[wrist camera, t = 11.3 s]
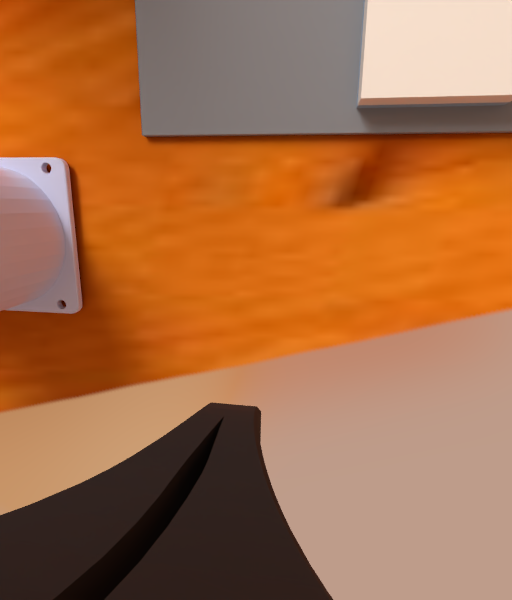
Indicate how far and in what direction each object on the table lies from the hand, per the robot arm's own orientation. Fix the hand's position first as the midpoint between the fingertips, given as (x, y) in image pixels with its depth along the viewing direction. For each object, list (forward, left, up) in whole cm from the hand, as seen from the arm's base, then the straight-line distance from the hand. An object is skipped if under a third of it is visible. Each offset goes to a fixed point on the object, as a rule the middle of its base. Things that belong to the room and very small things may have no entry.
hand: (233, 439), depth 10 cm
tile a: (+3, +13, -9) cm, 16 cm away
